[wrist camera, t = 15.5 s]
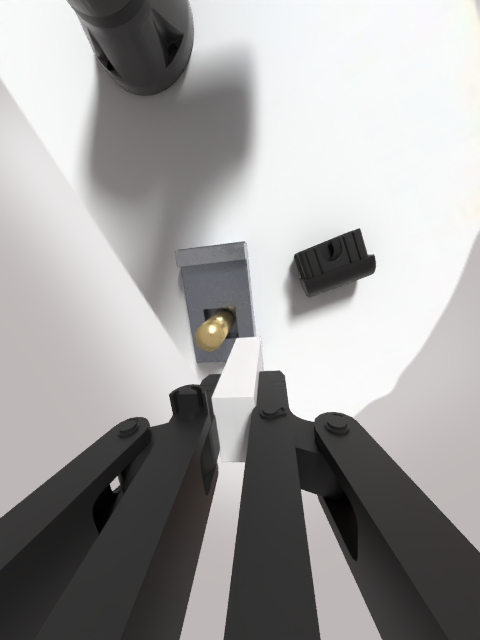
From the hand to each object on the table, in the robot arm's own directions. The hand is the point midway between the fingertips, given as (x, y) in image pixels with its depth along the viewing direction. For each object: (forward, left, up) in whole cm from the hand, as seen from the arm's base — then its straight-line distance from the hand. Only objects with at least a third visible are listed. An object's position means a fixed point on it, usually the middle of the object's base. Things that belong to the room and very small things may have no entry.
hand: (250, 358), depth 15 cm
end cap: (-4, +11, -29) cm, 31 cm away
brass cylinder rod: (+4, -8, -27) cm, 28 cm away
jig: (+1, -8, -28) cm, 29 cm away
